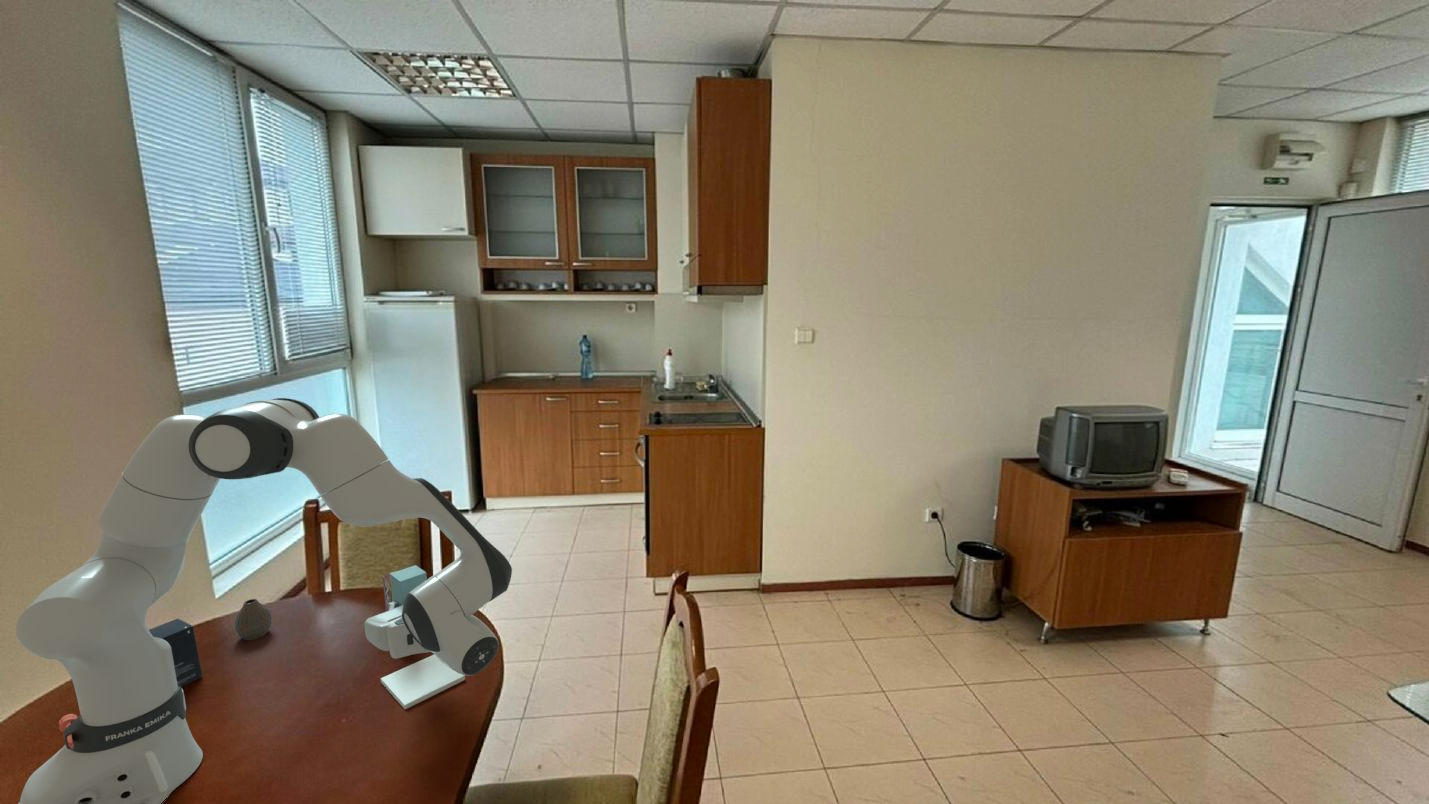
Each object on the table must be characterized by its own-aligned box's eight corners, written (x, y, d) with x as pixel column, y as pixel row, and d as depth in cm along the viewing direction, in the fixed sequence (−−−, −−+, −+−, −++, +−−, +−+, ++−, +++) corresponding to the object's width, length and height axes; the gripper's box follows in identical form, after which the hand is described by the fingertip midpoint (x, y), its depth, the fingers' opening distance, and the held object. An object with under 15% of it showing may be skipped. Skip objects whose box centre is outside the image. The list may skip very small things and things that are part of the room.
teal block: (406, 646, 116) (400, 581, 113) (396, 637, 119) (389, 573, 116) (432, 635, 119) (426, 572, 117) (421, 626, 123) (415, 565, 120)
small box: (187, 667, 124) (179, 616, 122) (204, 677, 121) (195, 625, 119) (103, 705, 113) (92, 650, 110) (119, 717, 110) (108, 660, 108)
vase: (228, 641, 134) (223, 606, 132) (259, 625, 140) (255, 591, 139) (250, 646, 132) (245, 611, 130) (280, 630, 138) (276, 596, 137)
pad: (405, 709, 113) (404, 705, 112) (381, 682, 120) (380, 678, 120) (465, 679, 122) (464, 675, 121) (439, 656, 129) (438, 652, 129)
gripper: (490, 587, 117) (457, 566, 125) (380, 631, 101) (352, 604, 110) (492, 616, 118) (459, 593, 127) (384, 663, 102) (355, 634, 111)
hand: (408, 598), depth 118 cm, fingers closed on teal block, 5 cm apart
